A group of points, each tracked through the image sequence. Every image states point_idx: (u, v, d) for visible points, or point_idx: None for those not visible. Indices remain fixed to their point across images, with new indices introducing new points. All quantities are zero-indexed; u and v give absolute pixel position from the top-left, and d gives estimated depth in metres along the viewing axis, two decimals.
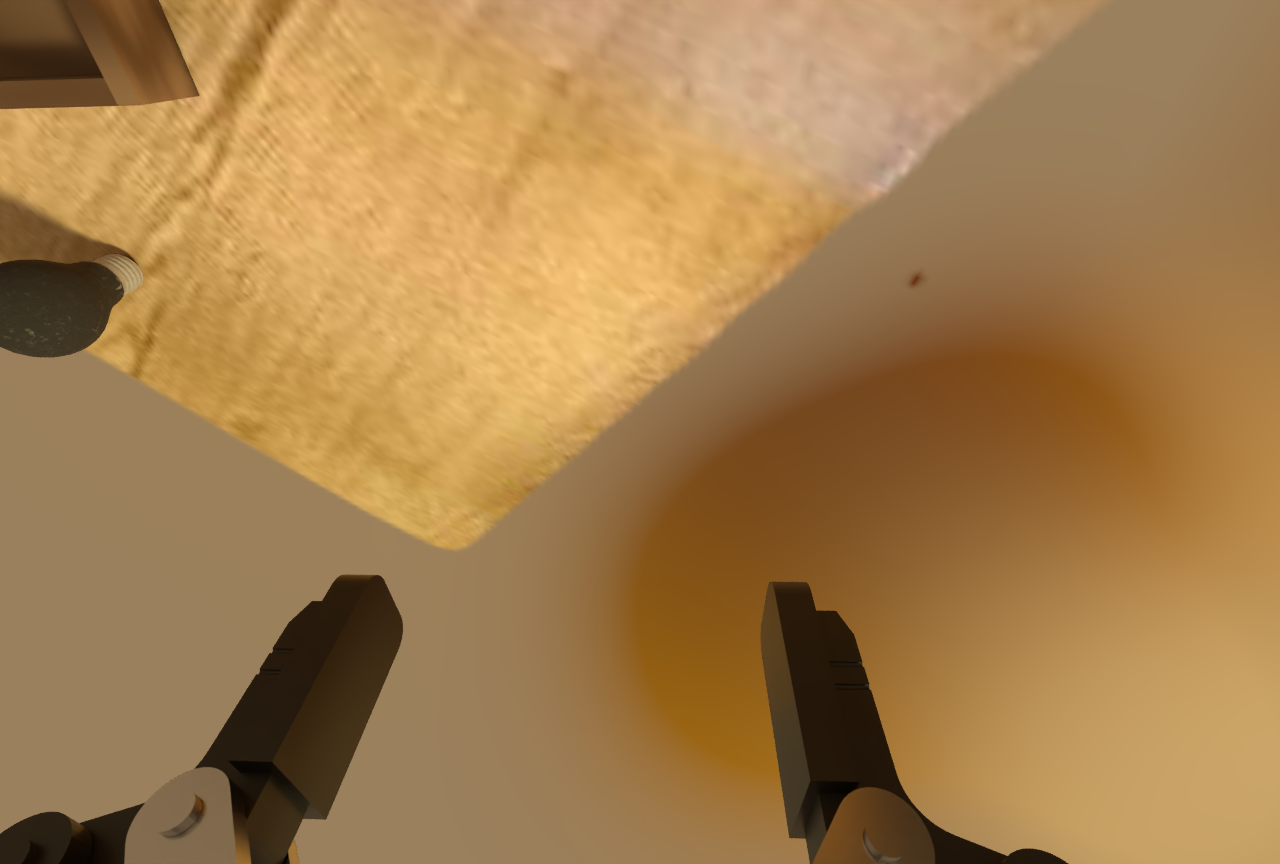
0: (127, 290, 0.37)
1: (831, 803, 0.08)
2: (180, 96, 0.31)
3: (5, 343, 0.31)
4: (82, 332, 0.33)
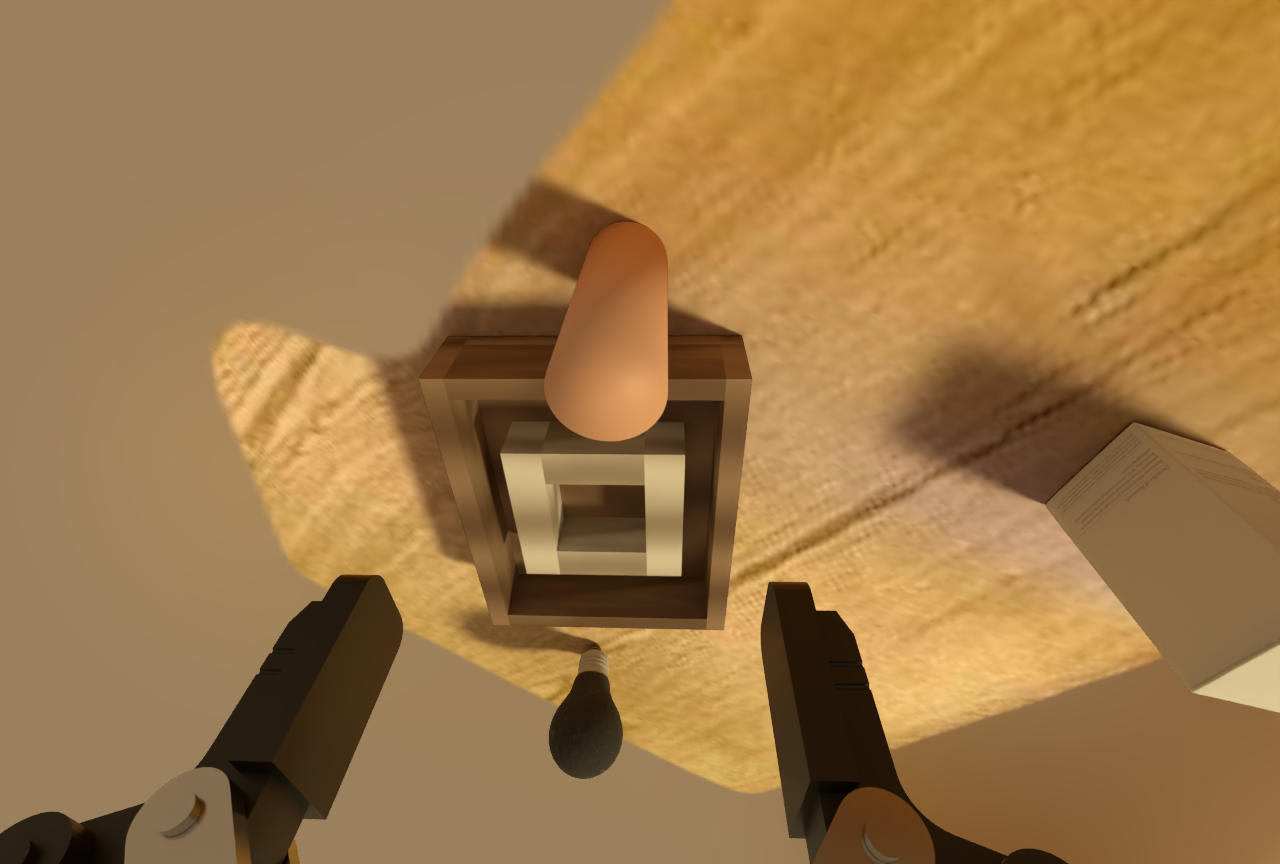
0: None
1: (831, 803, 0.08)
2: None
3: (581, 778, 0.41)
4: None
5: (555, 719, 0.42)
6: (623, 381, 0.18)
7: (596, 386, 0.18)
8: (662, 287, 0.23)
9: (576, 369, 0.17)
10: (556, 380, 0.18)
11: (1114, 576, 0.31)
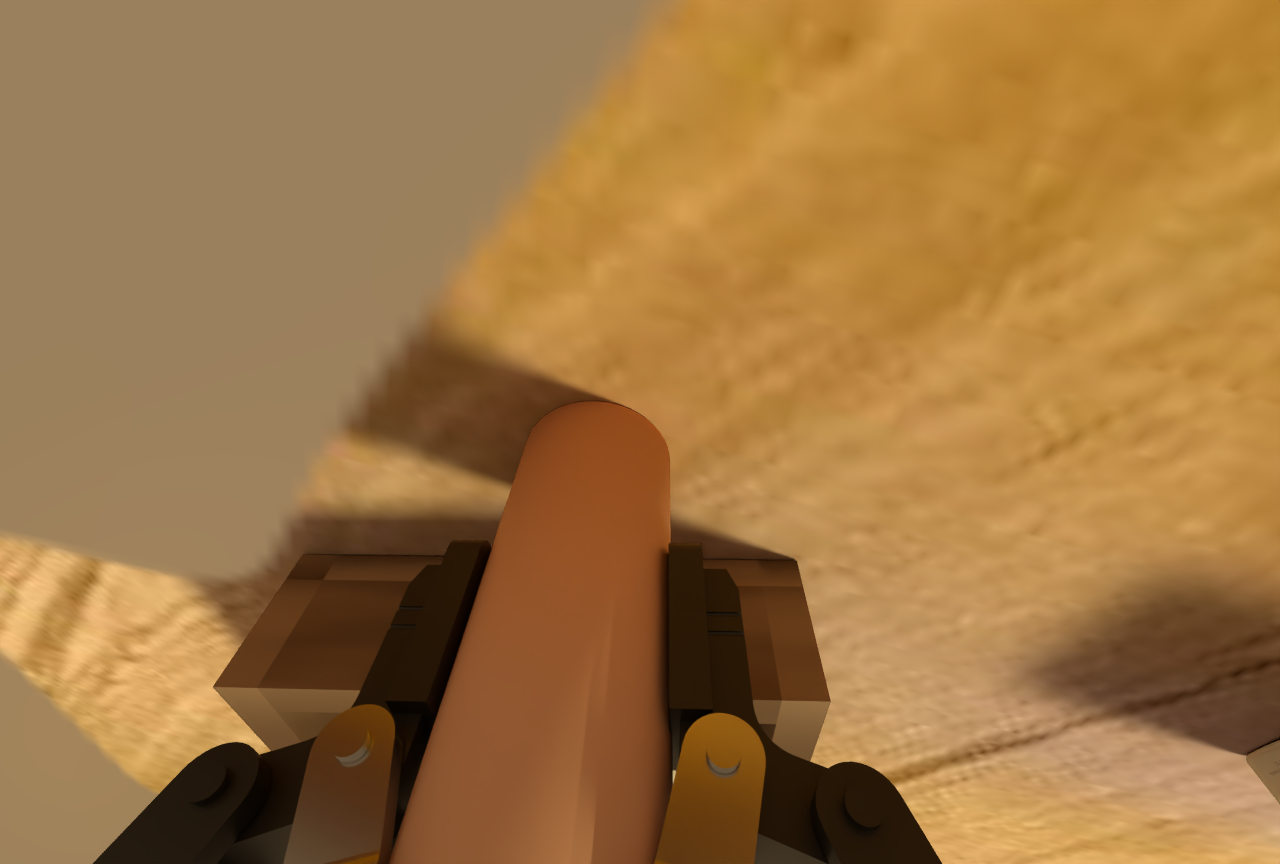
0: None
1: None
2: None
3: None
4: None
5: None
6: None
7: None
8: (660, 614, 0.10)
9: None
10: None
11: None
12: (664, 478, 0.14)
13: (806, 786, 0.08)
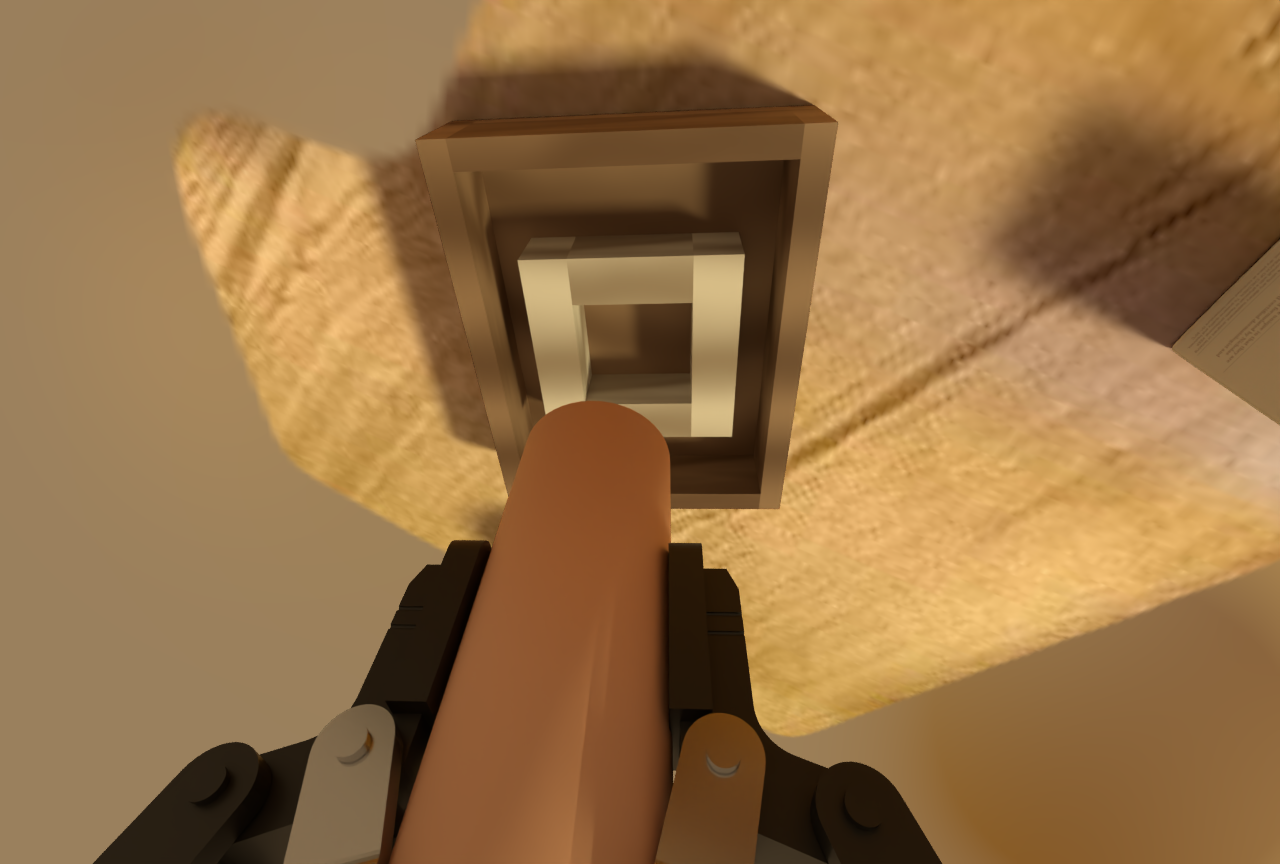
0: None
1: None
2: None
3: None
4: None
5: None
6: None
7: None
8: (660, 613, 0.10)
9: None
10: None
11: None
12: (664, 477, 0.14)
13: (806, 786, 0.08)
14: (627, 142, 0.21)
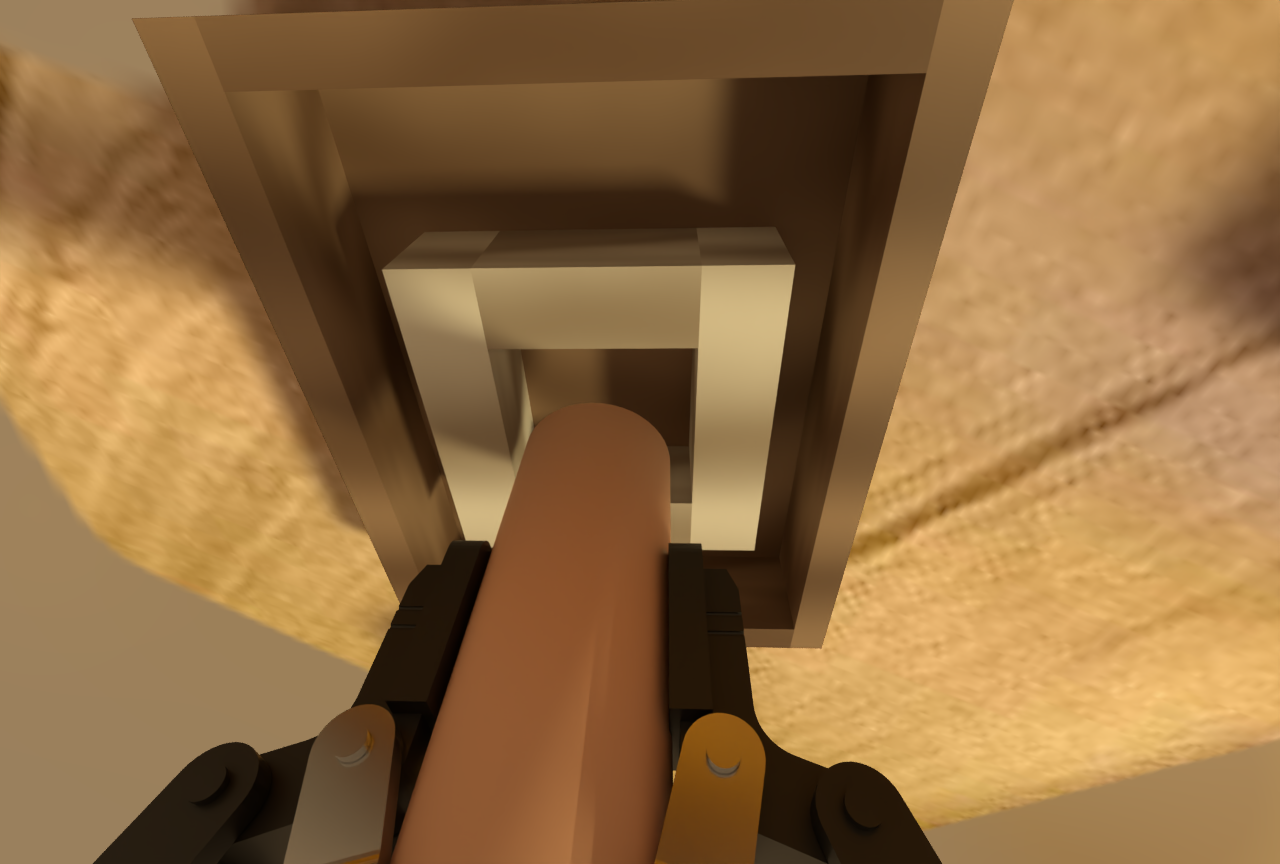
0: None
1: None
2: None
3: None
4: None
5: None
6: None
7: None
8: (660, 615, 0.10)
9: None
10: None
11: None
12: (664, 479, 0.14)
13: (806, 786, 0.08)
14: (572, 30, 0.10)
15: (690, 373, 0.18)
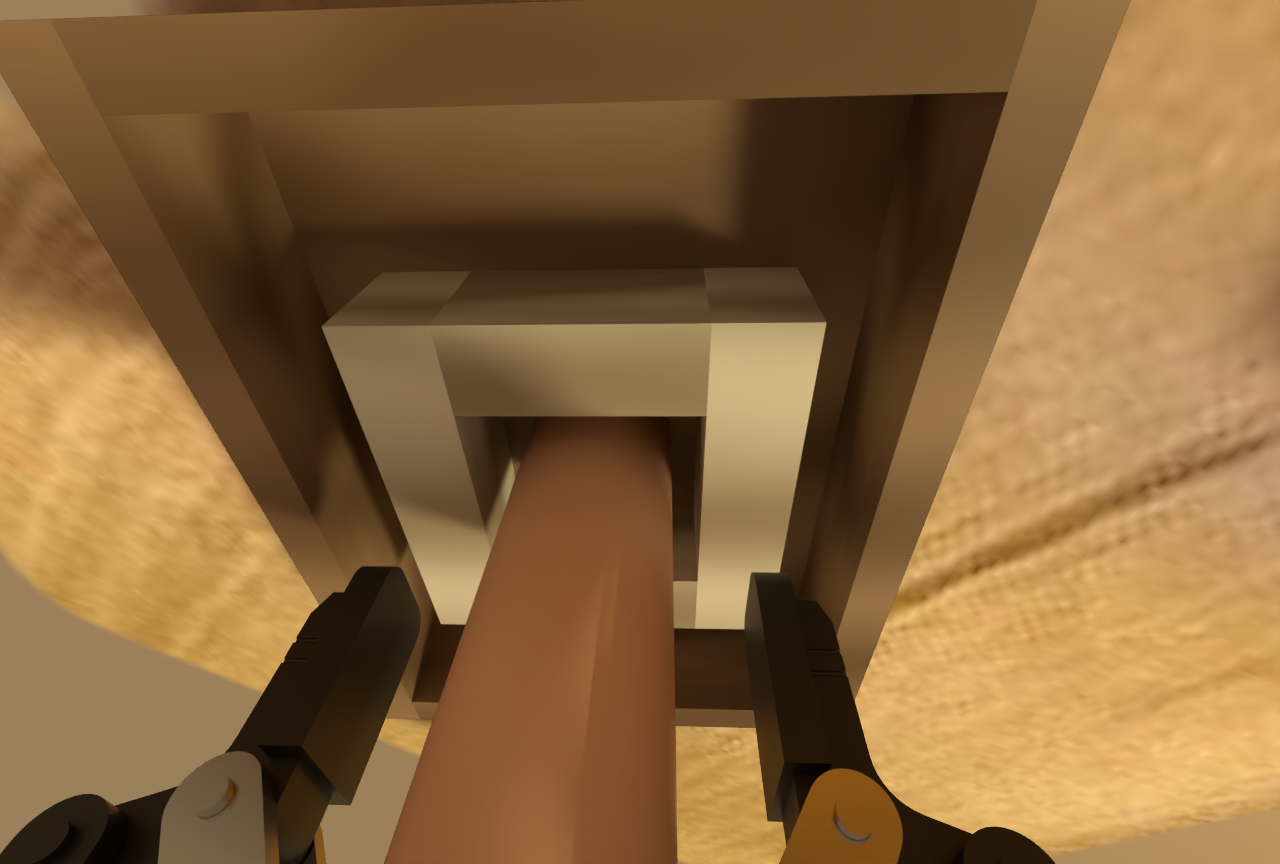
0: None
1: (805, 784, 0.08)
2: None
3: None
4: None
5: None
6: None
7: None
8: (663, 560, 0.11)
9: None
10: None
11: None
12: (666, 448, 0.14)
13: (943, 851, 0.07)
14: (544, 36, 0.08)
15: (695, 428, 0.16)
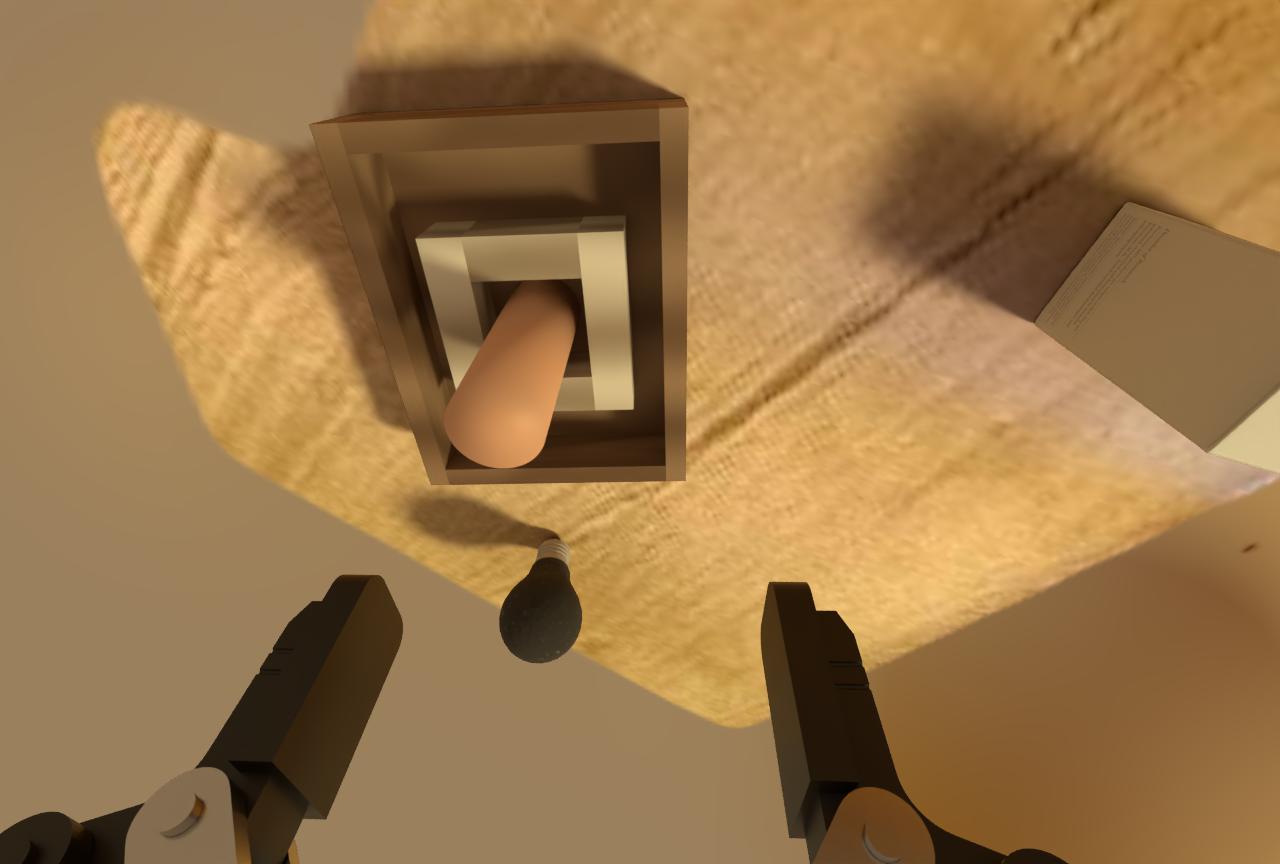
0: None
1: (831, 803, 0.08)
2: None
3: (534, 661, 0.37)
4: None
5: (506, 600, 0.38)
6: (508, 419, 0.22)
7: (486, 424, 0.22)
8: (560, 335, 0.27)
9: (468, 411, 0.21)
10: (453, 420, 0.22)
11: (1113, 364, 0.27)
12: (572, 306, 0.30)
13: None
14: (502, 126, 0.23)
15: None
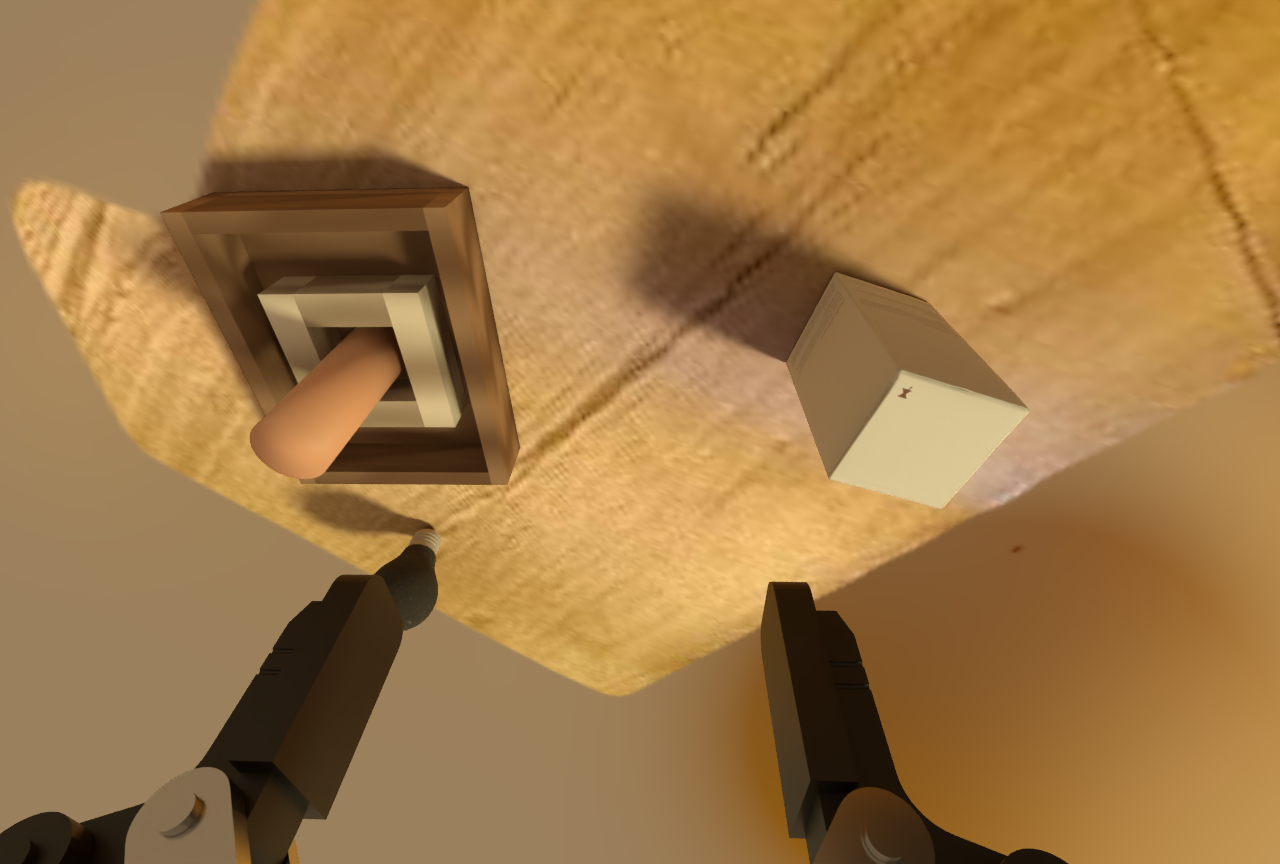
0: None
1: (831, 803, 0.08)
2: (515, 458, 0.44)
3: None
4: (431, 610, 0.46)
5: None
6: (297, 444, 0.29)
7: (282, 447, 0.29)
8: (370, 373, 0.34)
9: (267, 437, 0.29)
10: (257, 444, 0.29)
11: (808, 404, 0.34)
12: (397, 345, 0.37)
13: None
14: (307, 217, 0.30)
15: None
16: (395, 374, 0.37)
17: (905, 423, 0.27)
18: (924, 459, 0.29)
